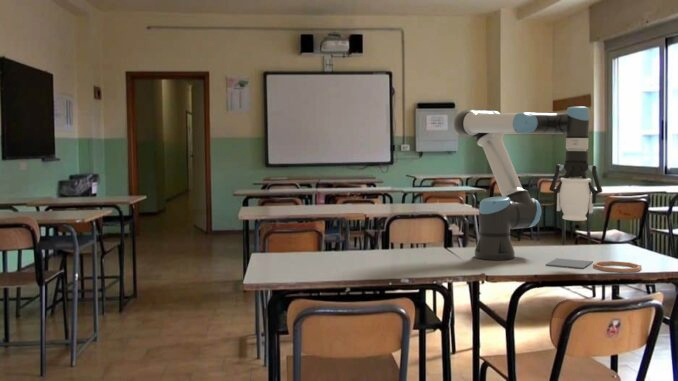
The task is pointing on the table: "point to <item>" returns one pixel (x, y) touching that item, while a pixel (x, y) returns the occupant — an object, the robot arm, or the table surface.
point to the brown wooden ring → (635, 269)
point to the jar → (575, 198)
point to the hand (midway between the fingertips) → (574, 211)
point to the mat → (569, 263)
